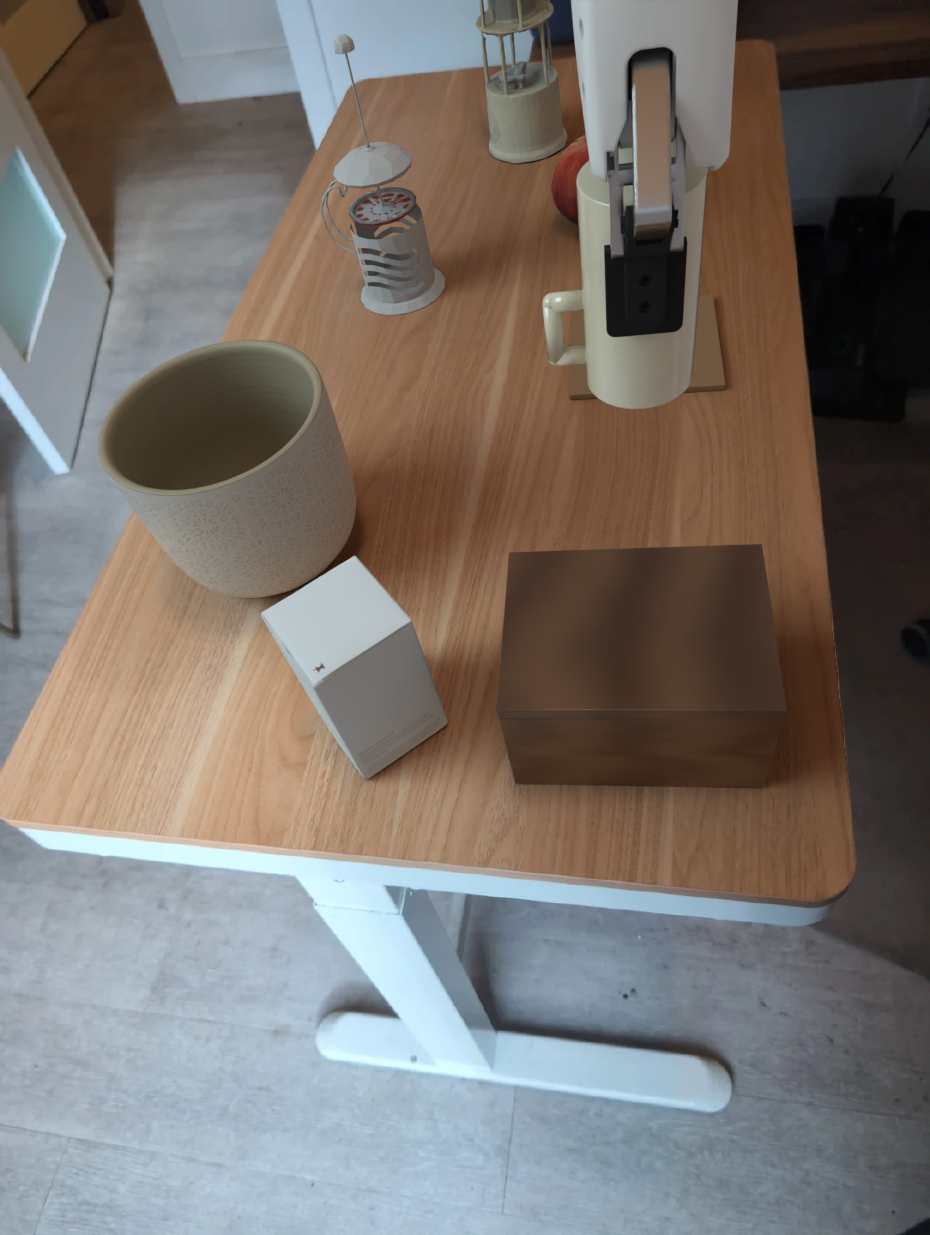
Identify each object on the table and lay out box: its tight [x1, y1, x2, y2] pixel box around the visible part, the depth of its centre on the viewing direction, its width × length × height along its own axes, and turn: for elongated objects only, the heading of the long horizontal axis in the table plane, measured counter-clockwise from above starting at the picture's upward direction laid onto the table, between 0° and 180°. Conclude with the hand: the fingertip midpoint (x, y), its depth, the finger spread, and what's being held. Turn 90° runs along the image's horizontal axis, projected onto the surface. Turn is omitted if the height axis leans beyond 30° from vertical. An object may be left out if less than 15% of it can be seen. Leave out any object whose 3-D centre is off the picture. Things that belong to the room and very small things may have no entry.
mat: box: [569, 293, 726, 401], centre depth 81 cm, size 14×14×1 cm
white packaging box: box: [260, 555, 449, 781], centre depth 56 cm, size 7×7×13 cm
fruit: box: [550, 127, 589, 226], centre depth 92 cm, size 11×10×10 cm
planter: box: [97, 339, 357, 599], centre depth 67 cm, size 17×17×15 cm
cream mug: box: [541, 142, 709, 410], centre depth 38 cm, size 7×5×10 cm
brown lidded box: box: [496, 543, 788, 789], centre depth 54 cm, size 16×12×10 cm
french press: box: [320, 33, 446, 316], centre depth 84 cm, size 10×12×25 cm
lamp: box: [475, 0, 569, 164], centre depth 98 cm, size 10×13×30 cm
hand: (640, 286), depth 38 cm, fingers closed on cream mug, 5 cm apart
